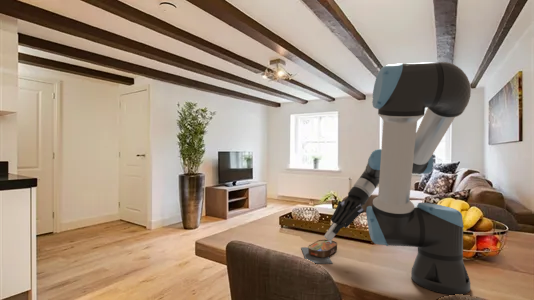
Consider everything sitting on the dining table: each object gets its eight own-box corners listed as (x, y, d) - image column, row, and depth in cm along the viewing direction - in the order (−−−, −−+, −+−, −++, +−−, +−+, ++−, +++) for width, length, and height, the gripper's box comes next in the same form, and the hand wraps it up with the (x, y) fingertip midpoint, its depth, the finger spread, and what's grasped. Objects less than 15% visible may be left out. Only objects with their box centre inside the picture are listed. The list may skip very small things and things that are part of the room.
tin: (324, 252, 101) (304, 246, 106) (323, 261, 101) (303, 254, 106) (340, 242, 113) (321, 236, 118) (340, 249, 113) (321, 244, 118)
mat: (332, 263, 99) (332, 263, 99) (307, 263, 99) (307, 263, 99) (323, 248, 115) (323, 247, 115) (301, 248, 115) (301, 247, 115)
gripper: (378, 200, 108) (344, 250, 101) (354, 195, 120) (322, 240, 113) (368, 187, 106) (332, 237, 99) (344, 184, 118) (311, 228, 111)
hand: (327, 238), depth 106 cm, fingers closed
